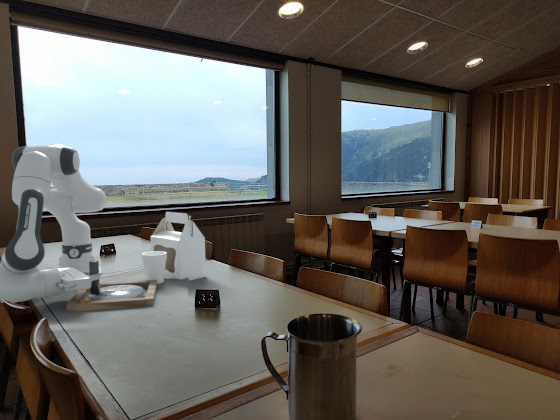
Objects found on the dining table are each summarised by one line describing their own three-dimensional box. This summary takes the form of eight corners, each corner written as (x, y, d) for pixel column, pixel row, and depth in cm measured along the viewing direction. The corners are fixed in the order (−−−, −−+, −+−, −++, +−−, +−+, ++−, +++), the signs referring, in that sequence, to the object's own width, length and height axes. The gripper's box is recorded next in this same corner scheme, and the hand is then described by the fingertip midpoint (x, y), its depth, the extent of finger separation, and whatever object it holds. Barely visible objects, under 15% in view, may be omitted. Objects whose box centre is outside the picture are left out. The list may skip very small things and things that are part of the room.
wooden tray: (84, 293, 154) (84, 282, 153) (157, 288, 160) (156, 277, 159) (66, 316, 128) (65, 302, 128) (153, 309, 135) (153, 296, 134)
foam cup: (160, 288, 160) (159, 255, 159) (138, 287, 162) (137, 255, 161) (171, 282, 169) (170, 251, 168) (150, 281, 171) (149, 250, 170)
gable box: (206, 277, 179) (205, 212, 176) (180, 283, 169) (179, 215, 167) (176, 269, 193) (174, 210, 191) (151, 274, 183) (149, 212, 181)
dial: (146, 289, 155) (145, 254, 153) (140, 303, 137) (138, 264, 136) (95, 291, 151) (93, 256, 150) (82, 306, 133) (80, 267, 132)
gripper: (60, 278, 125) (106, 271, 134) (44, 267, 141) (87, 261, 150) (61, 298, 126) (107, 290, 135) (45, 285, 141) (88, 278, 150)
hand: (97, 275), depth 142 cm, fingers open, 3 cm apart
